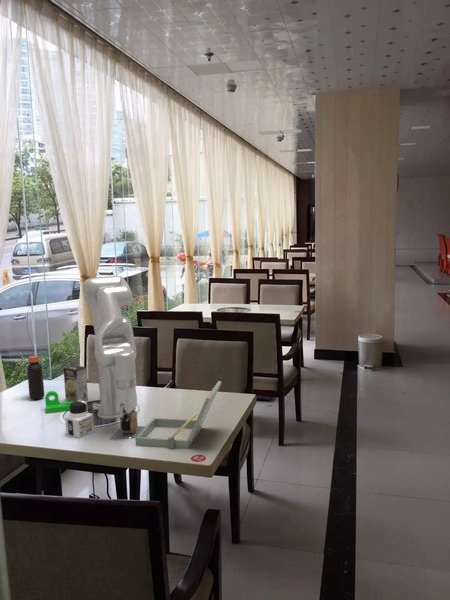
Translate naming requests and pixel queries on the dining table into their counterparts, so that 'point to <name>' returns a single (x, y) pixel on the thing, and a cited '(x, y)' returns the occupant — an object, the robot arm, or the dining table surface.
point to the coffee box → (75, 383)
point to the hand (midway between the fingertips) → (128, 427)
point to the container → (79, 420)
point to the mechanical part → (55, 403)
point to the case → (177, 423)
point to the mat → (126, 434)
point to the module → (131, 422)
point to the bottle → (35, 378)
